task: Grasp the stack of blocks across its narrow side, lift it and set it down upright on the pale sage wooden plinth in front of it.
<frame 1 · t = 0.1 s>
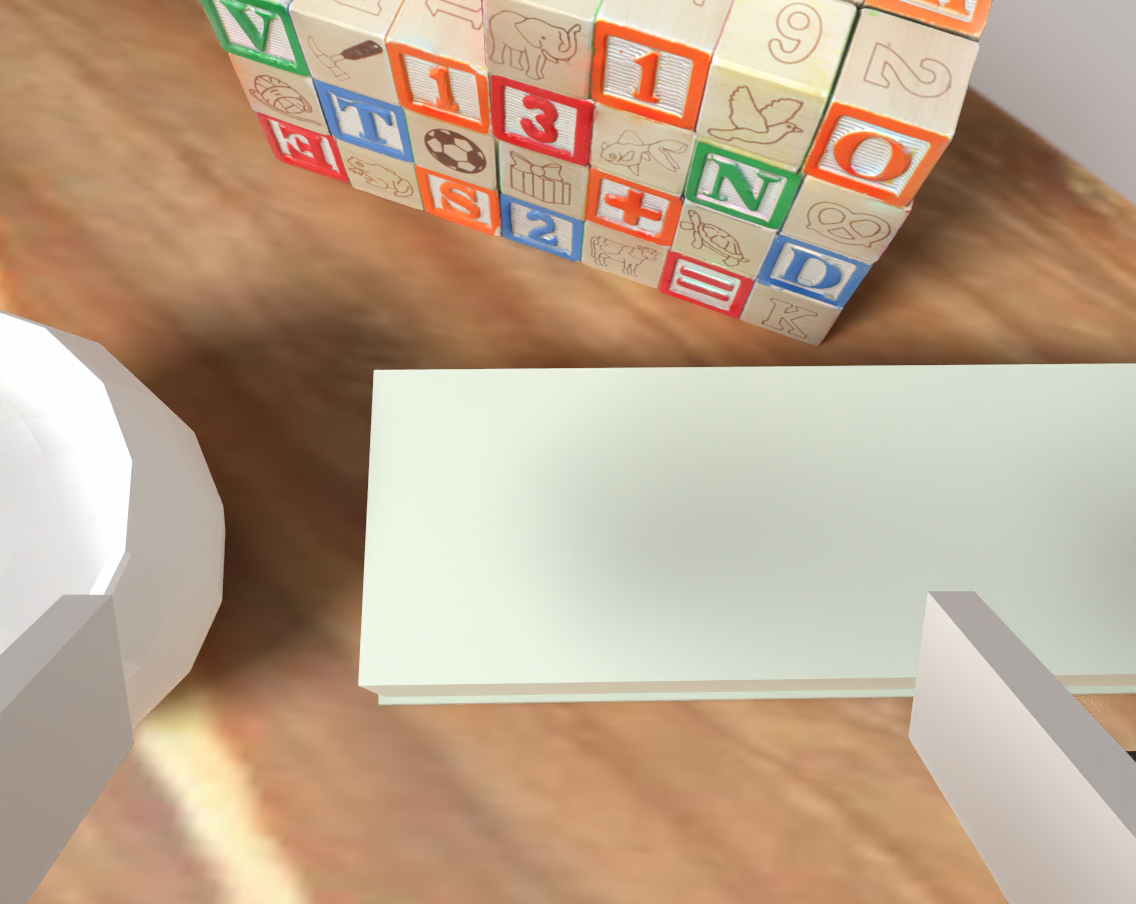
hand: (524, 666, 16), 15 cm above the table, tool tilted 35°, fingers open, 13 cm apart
cup: (83, 592, 32), on the table
stack of blocks: (568, 189, 37), on the table
plinth: (759, 552, 32), on the table
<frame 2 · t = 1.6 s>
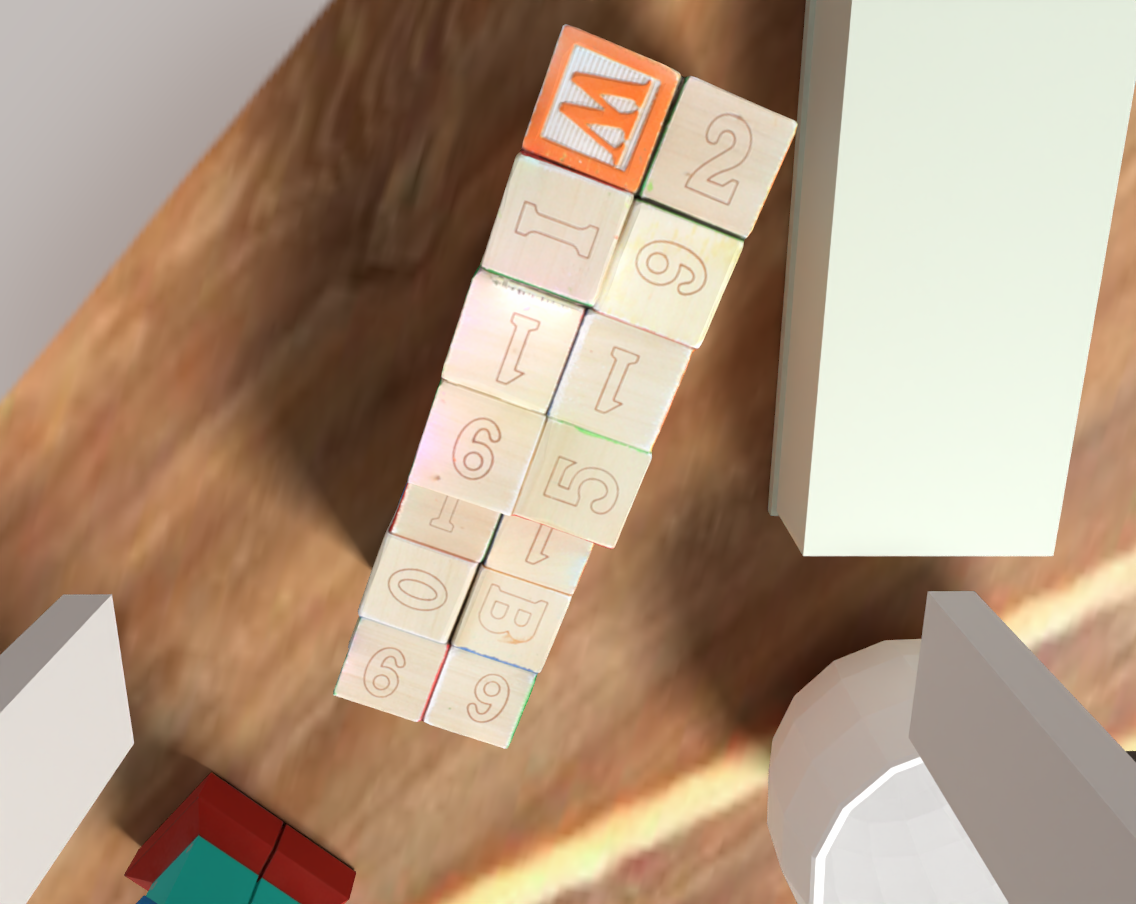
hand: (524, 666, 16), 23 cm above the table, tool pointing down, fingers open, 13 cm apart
toy robot: (254, 851, 45), on the table
cup: (880, 716, 43), on the table
stack of blocks: (536, 363, 38), on the table
plinth: (917, 201, 36), on the table
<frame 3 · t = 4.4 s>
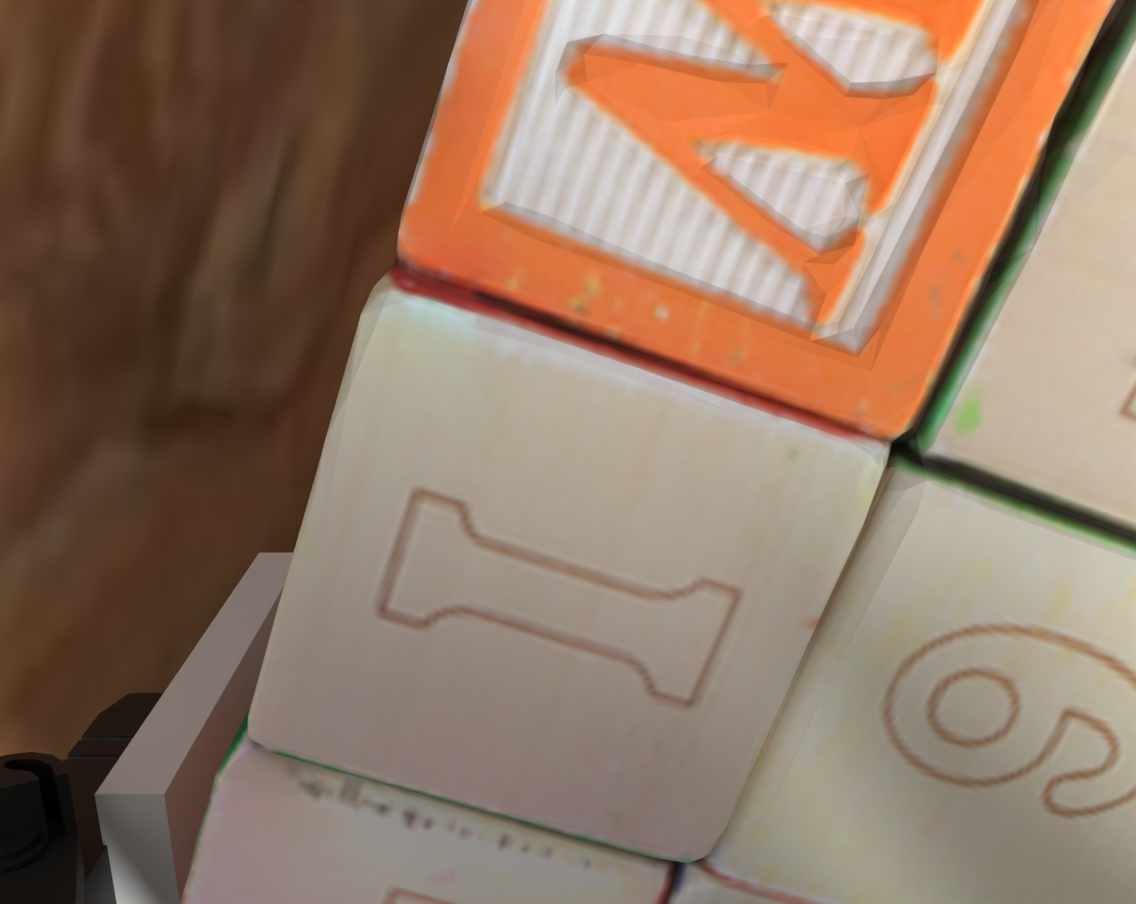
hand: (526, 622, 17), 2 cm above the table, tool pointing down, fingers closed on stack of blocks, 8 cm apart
stack of blocks: (519, 602, 19), on the table, touching gripper
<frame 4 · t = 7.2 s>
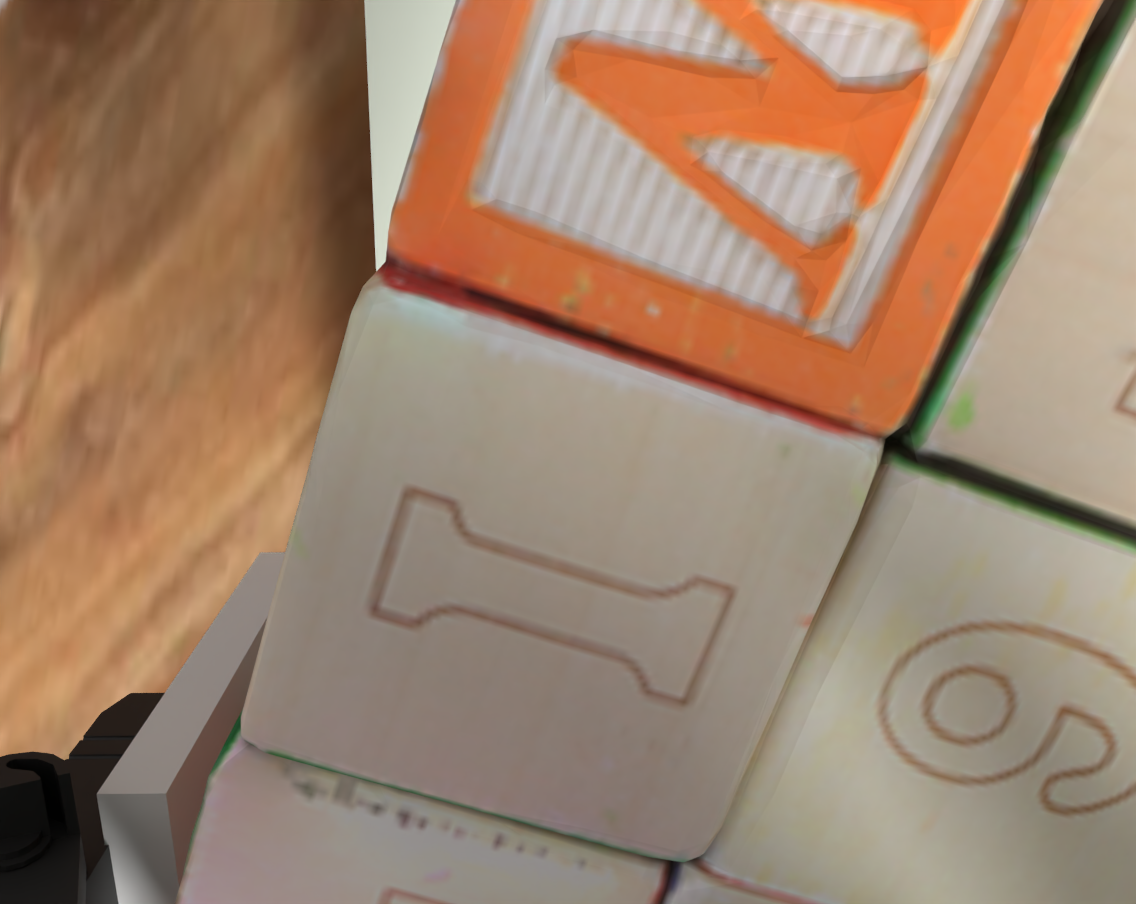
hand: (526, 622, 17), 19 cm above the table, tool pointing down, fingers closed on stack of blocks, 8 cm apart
stack of blocks: (519, 602, 19), point 17 cm above the table, touching gripper
plinth: (528, 365, 35), on the table
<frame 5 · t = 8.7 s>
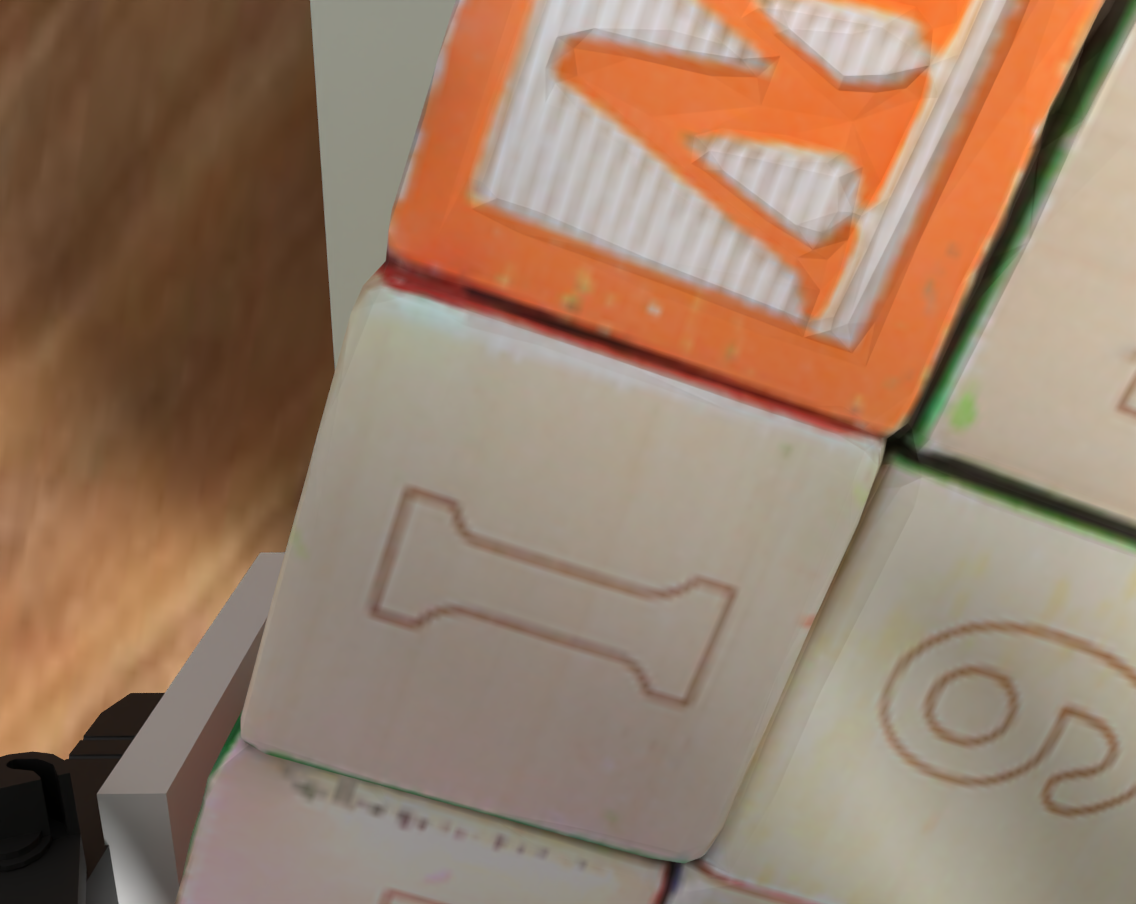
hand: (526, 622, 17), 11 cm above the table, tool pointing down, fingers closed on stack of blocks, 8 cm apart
stack of blocks: (519, 602, 19), point 9 cm above the table, touching gripper
plinth: (538, 441, 28), on the table
when the fingers open (8 cm above the table, at t = 10.1 s): stack of blocks drops 1 cm, resting on plinth.
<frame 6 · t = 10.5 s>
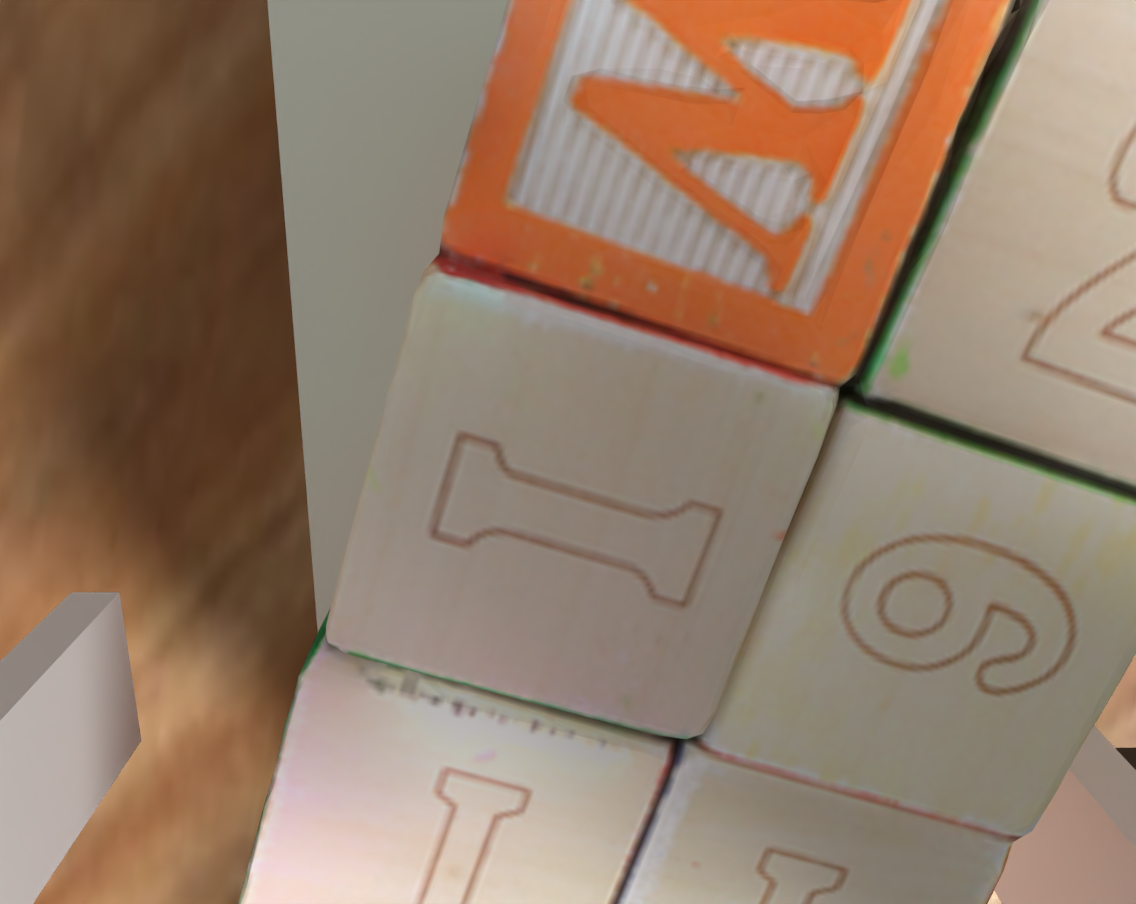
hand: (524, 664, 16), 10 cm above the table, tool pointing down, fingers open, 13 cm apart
stack of blocks: (531, 575, 21), point 5 cm above the table, touching plinth
plinth: (531, 471, 25), on the table
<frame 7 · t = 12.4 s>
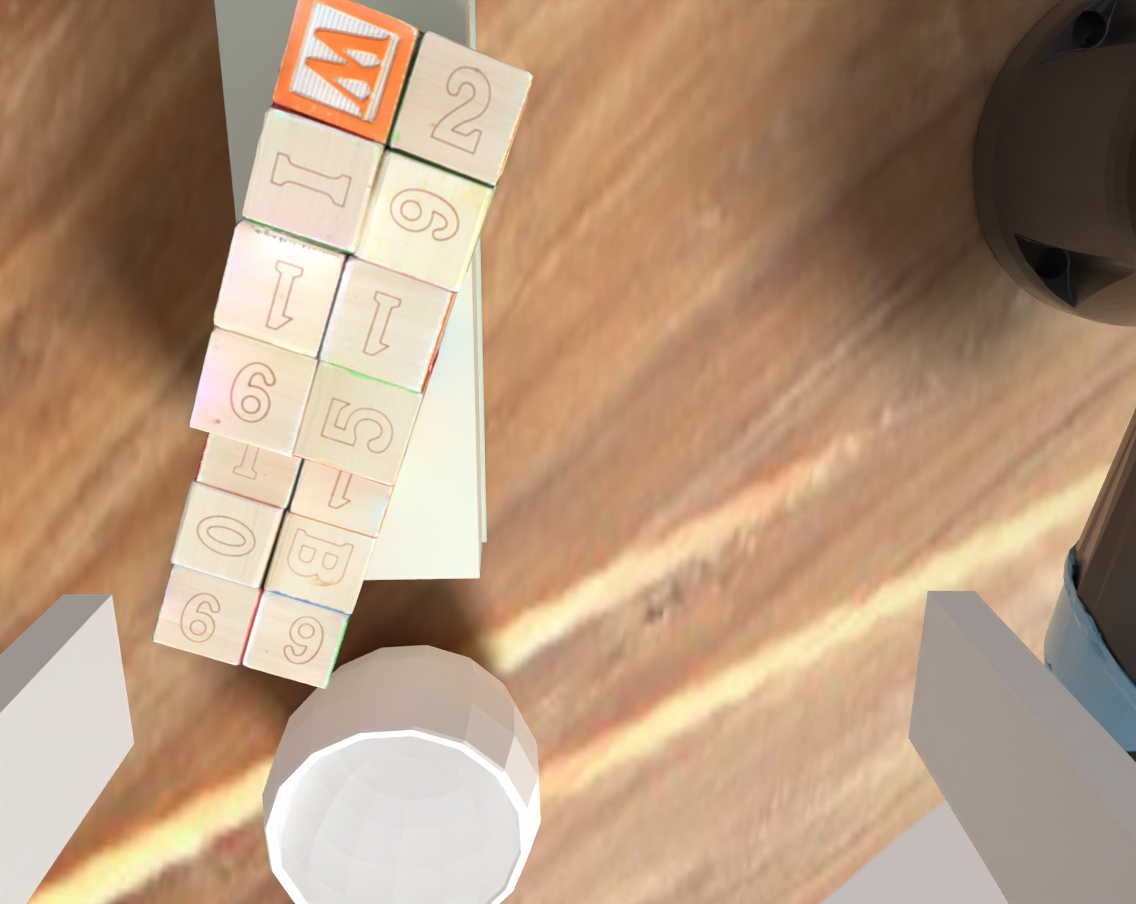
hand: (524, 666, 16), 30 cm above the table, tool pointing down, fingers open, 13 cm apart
cup: (419, 710, 51), on the table
stack of blocks: (367, 324, 39), point 5 cm above the table, touching plinth
plinth: (375, 286, 44), on the table
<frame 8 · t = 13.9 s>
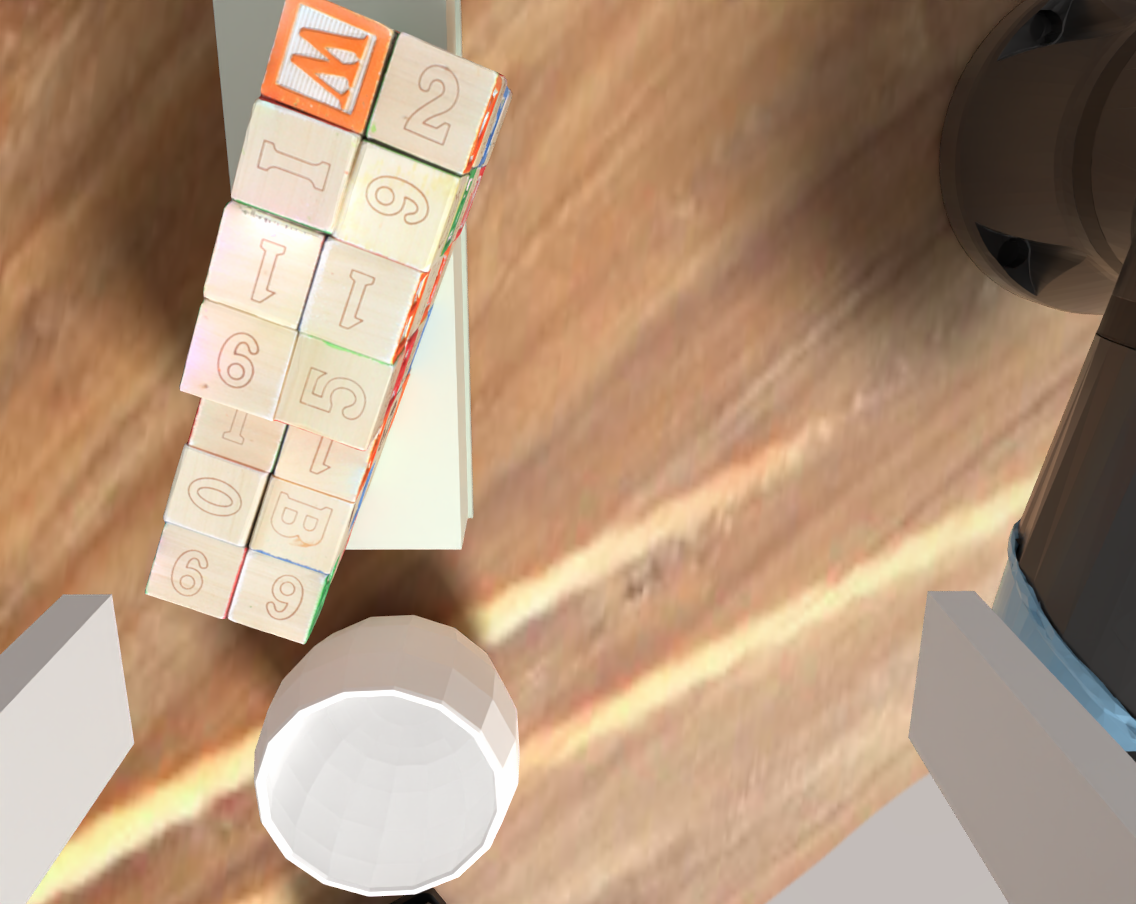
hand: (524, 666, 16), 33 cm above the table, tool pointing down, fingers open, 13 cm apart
cup: (409, 680, 53), on the table
stack of blocks: (358, 308, 42), point 5 cm above the table, touching plinth
plinth: (367, 272, 46), on the table
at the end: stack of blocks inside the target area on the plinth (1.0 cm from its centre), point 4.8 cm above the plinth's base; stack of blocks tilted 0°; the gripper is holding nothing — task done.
